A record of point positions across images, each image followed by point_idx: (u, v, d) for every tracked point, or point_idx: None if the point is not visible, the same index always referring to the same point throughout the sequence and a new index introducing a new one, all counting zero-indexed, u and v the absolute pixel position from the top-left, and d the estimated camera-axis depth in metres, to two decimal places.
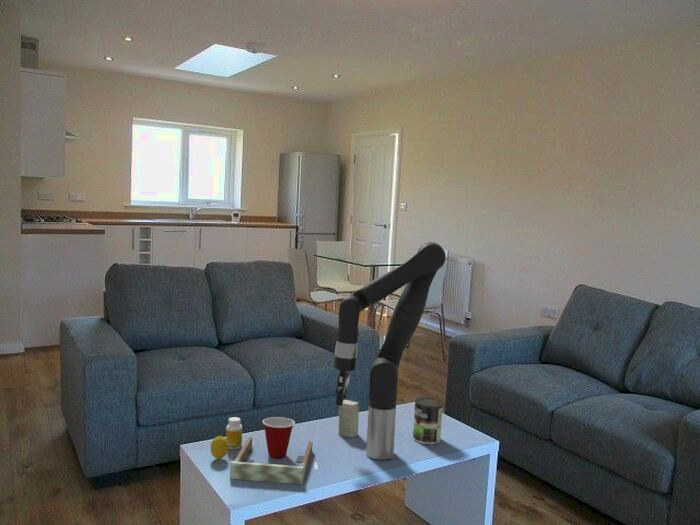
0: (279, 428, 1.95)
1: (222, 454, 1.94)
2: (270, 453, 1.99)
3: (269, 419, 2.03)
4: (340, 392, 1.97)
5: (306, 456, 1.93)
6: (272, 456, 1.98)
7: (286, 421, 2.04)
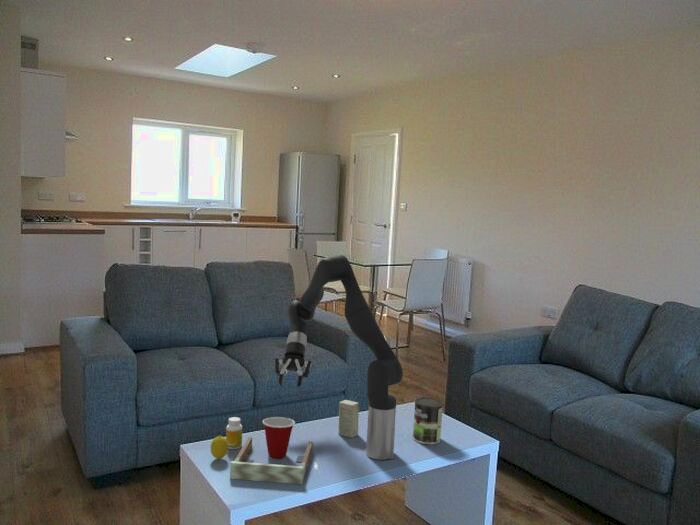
0: (279, 428, 1.95)
1: (222, 454, 1.94)
2: (270, 453, 1.99)
3: (269, 419, 2.03)
4: None
5: (306, 456, 1.93)
6: (272, 456, 1.98)
7: (286, 421, 2.04)
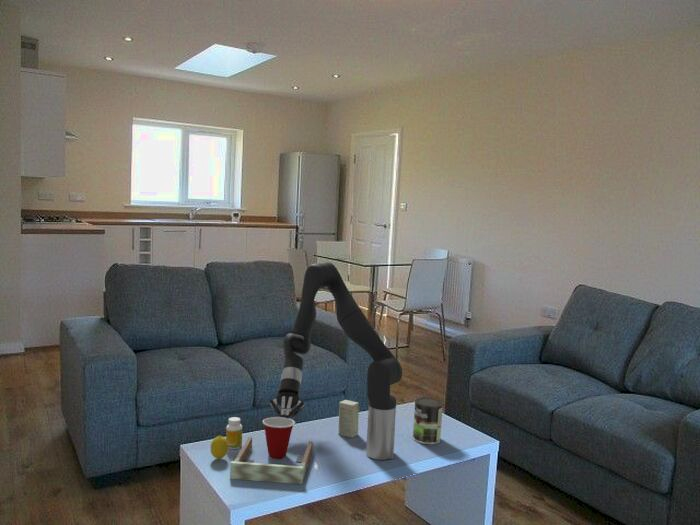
0: (279, 428, 1.95)
1: (222, 454, 1.94)
2: (270, 453, 1.99)
3: (269, 419, 2.03)
4: None
5: (306, 456, 1.93)
6: (272, 456, 1.98)
7: (286, 421, 2.04)
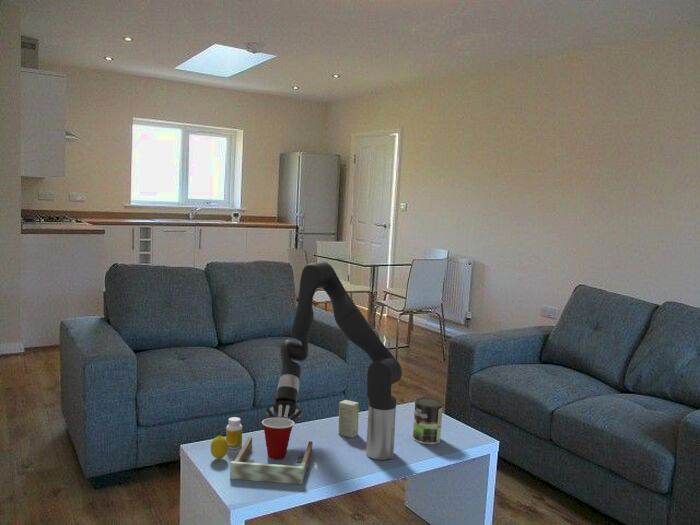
0: (278, 429, 1.95)
1: (222, 454, 1.94)
2: (269, 454, 1.98)
3: (268, 420, 2.03)
4: None
5: (306, 456, 1.93)
6: (271, 457, 1.98)
7: (286, 422, 2.04)
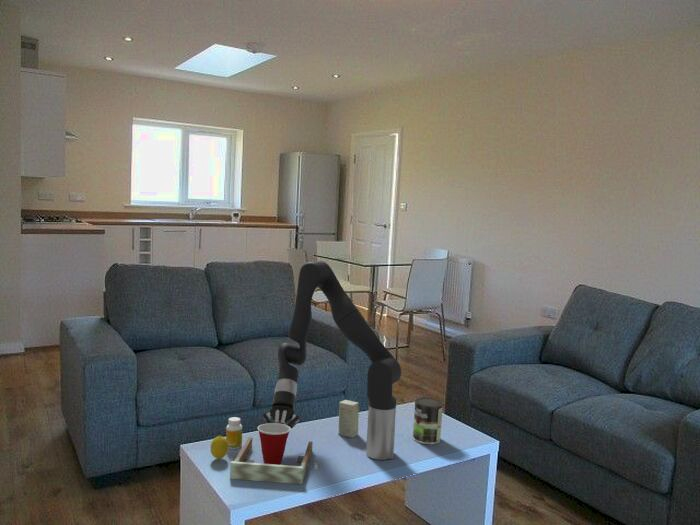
0: (274, 435, 1.89)
1: (222, 454, 1.94)
2: (265, 460, 1.93)
3: (265, 425, 1.98)
4: None
5: (306, 456, 1.93)
6: (267, 463, 1.93)
7: (283, 428, 1.98)
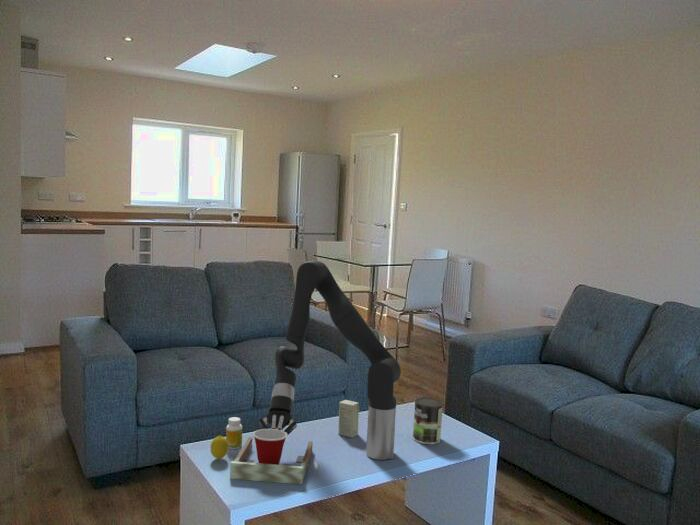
0: (270, 441, 1.84)
1: (222, 454, 1.94)
2: None
3: (261, 431, 1.93)
4: None
5: (306, 456, 1.93)
6: None
7: (279, 434, 1.93)
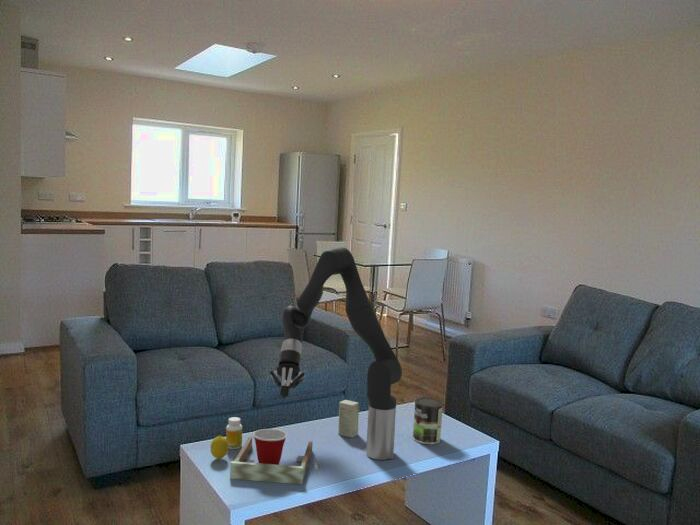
0: (270, 441, 1.84)
1: (222, 454, 1.94)
2: None
3: (261, 431, 1.93)
4: None
5: (306, 456, 1.93)
6: None
7: (279, 434, 1.93)
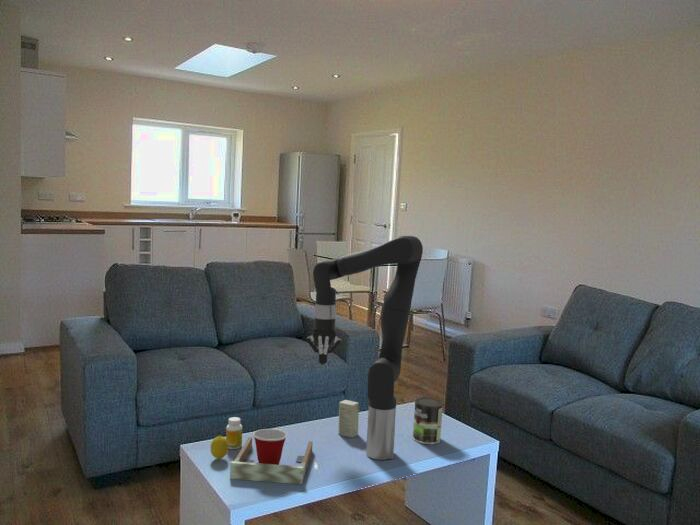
0: (270, 441, 1.84)
1: (222, 454, 1.94)
2: None
3: (261, 431, 1.93)
4: None
5: (306, 456, 1.93)
6: None
7: (279, 434, 1.93)
